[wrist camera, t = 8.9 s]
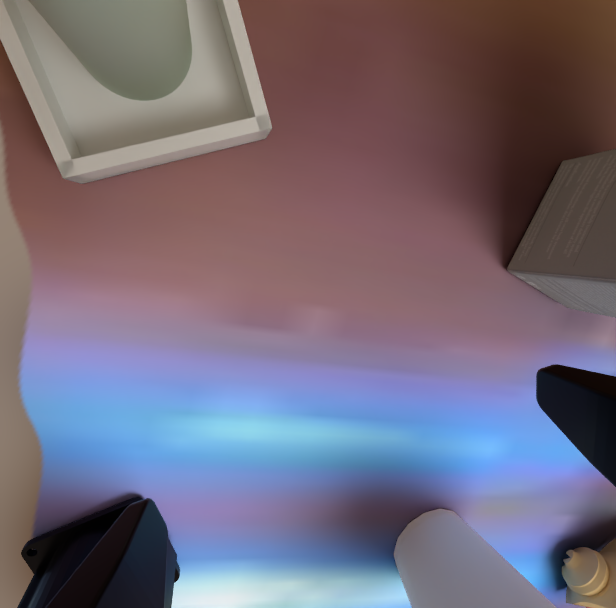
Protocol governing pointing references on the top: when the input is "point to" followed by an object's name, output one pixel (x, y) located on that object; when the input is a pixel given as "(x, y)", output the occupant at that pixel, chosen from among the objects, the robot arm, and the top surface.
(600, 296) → the skincare box
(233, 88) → the tray
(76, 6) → the peg
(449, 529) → the foam cup
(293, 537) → the top surface
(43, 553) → the robot arm
